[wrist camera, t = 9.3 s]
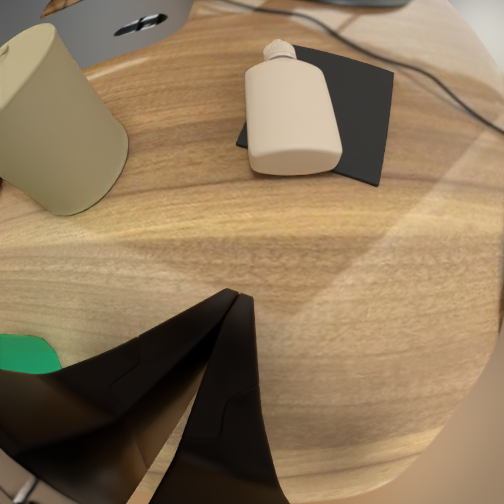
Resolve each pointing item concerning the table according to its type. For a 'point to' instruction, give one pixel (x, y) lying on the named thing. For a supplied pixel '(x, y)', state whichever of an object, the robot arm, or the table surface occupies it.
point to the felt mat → (353, 111)
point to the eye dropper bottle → (289, 115)
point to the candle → (27, 354)
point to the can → (55, 126)
